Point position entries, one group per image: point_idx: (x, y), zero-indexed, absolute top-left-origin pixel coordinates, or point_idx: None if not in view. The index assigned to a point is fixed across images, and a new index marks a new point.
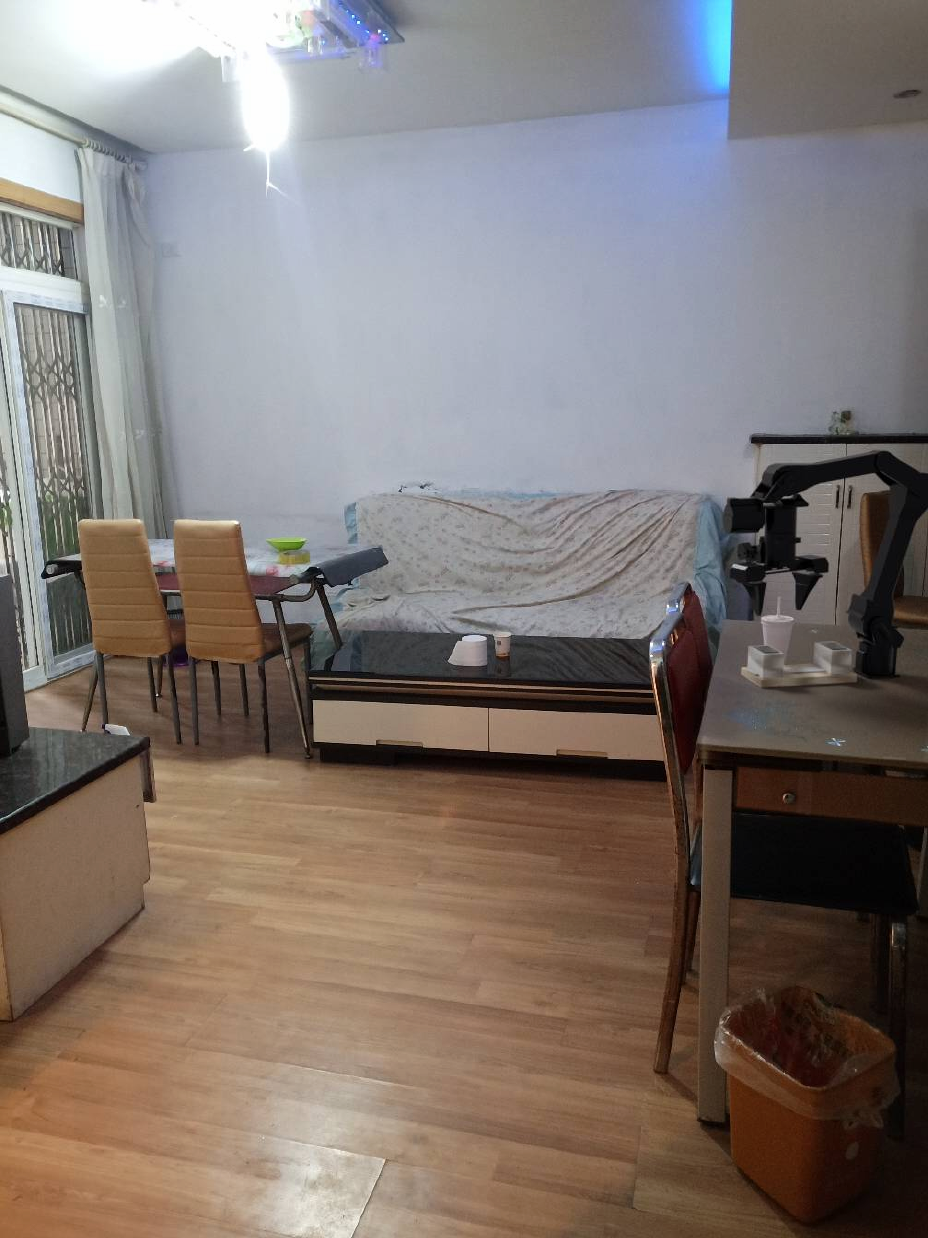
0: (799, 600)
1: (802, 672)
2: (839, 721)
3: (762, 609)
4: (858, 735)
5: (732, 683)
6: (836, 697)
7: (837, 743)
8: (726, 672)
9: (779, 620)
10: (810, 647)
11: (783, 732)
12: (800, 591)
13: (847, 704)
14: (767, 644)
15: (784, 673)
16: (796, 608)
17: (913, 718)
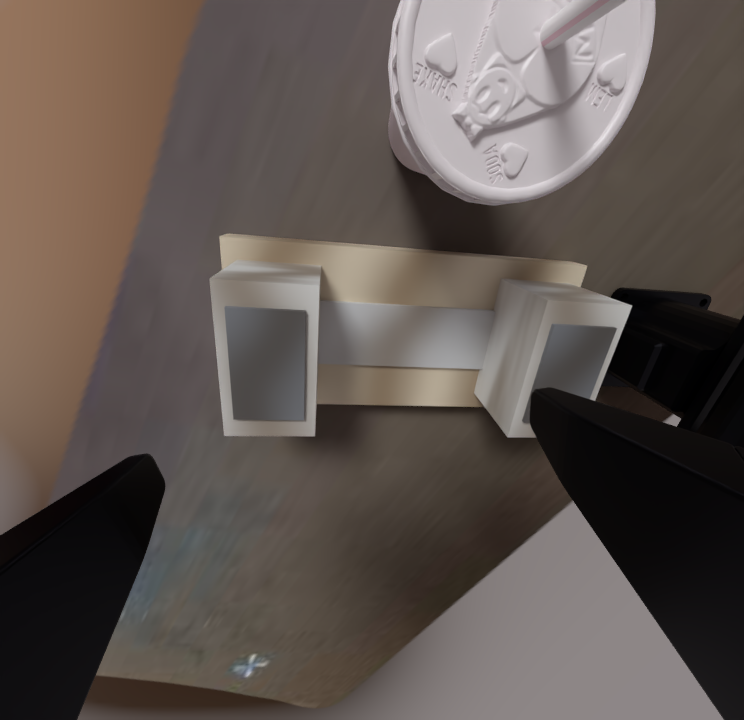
0: (581, 474)
1: (402, 364)
2: (310, 601)
3: (145, 549)
4: (303, 648)
5: (159, 328)
6: (395, 488)
7: (249, 670)
8: (176, 181)
9: (498, 132)
10: None
11: (173, 635)
12: (666, 553)
13: (388, 529)
14: (394, 124)
15: (338, 364)
16: (535, 399)
17: (450, 598)
